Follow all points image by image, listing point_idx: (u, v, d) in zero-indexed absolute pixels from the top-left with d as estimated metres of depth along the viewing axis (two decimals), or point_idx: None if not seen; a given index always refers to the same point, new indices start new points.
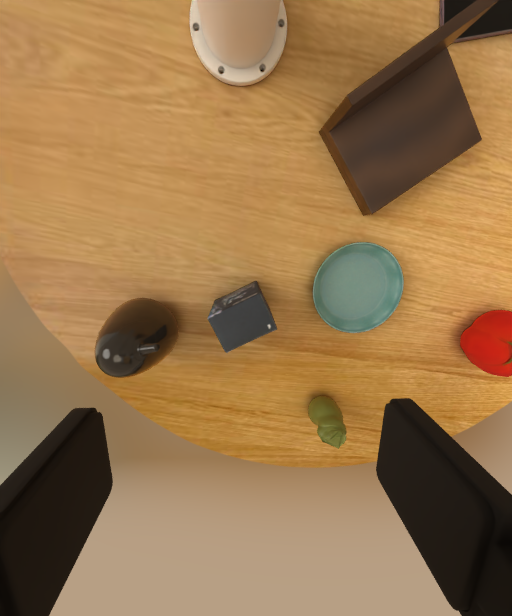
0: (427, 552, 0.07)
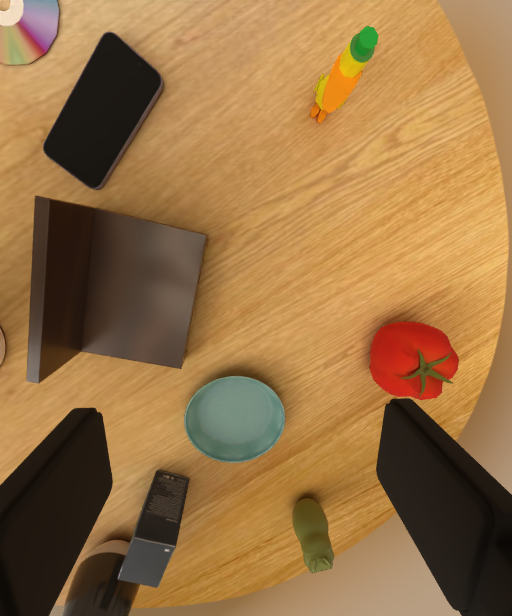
0: (427, 552, 0.07)
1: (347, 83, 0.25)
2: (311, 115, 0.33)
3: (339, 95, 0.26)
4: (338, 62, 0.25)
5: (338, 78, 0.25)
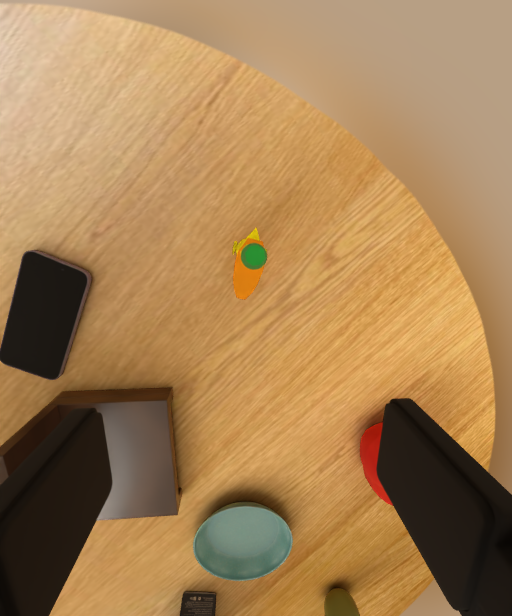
0: (427, 551, 0.07)
1: (254, 271, 0.25)
2: None
3: (249, 283, 0.25)
4: (239, 256, 0.25)
5: (243, 269, 0.25)
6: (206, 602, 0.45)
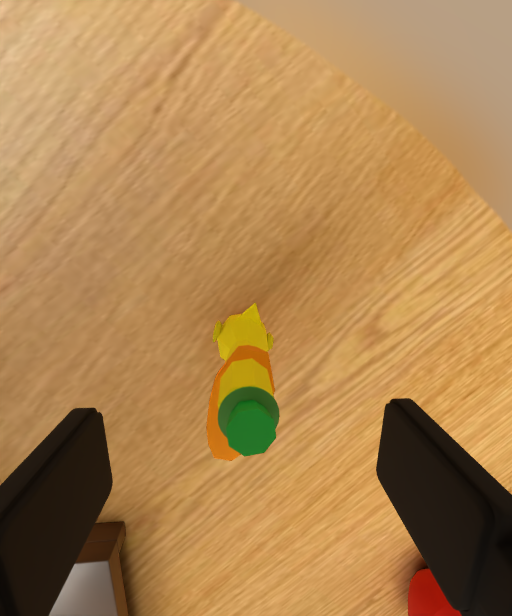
0: (427, 552, 0.07)
1: None
2: None
3: None
4: (219, 387, 0.12)
5: None
6: None
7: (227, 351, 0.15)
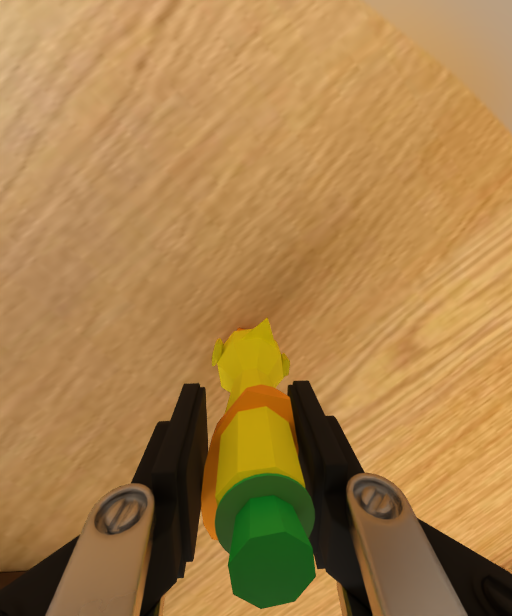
0: None
1: None
2: None
3: None
4: (218, 448, 0.08)
5: None
6: None
7: (230, 382, 0.11)
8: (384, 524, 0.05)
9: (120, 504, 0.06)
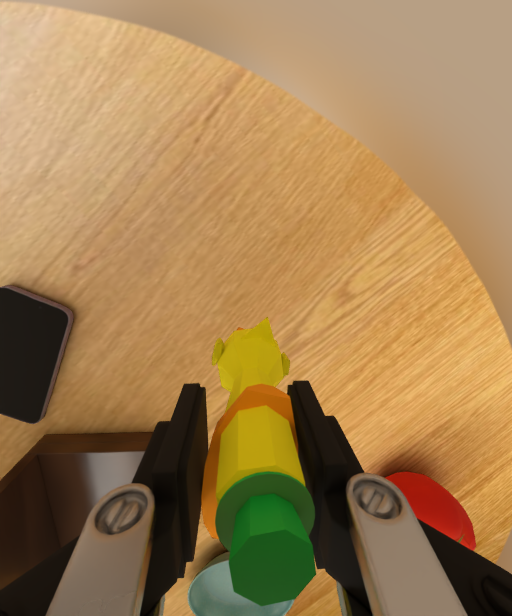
0: None
1: None
2: None
3: None
4: (218, 447, 0.08)
5: None
6: None
7: (230, 381, 0.11)
8: (383, 524, 0.05)
9: (120, 504, 0.06)
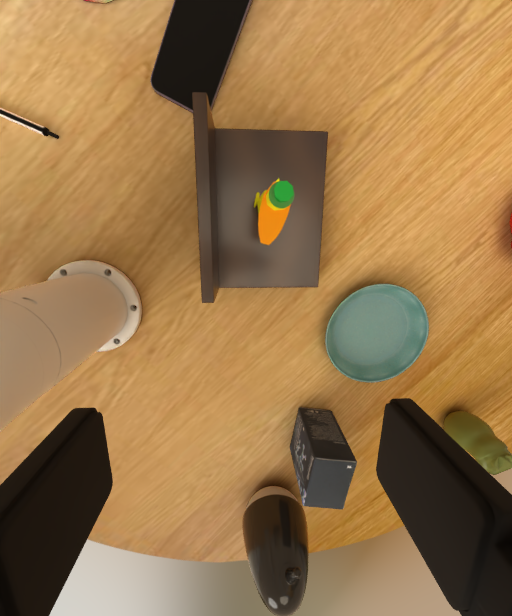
0: (427, 551, 0.07)
1: (279, 215, 0.25)
2: None
3: (274, 228, 0.25)
4: (265, 200, 0.25)
5: (268, 214, 0.25)
6: (325, 414, 0.43)
7: None
8: None
9: None
